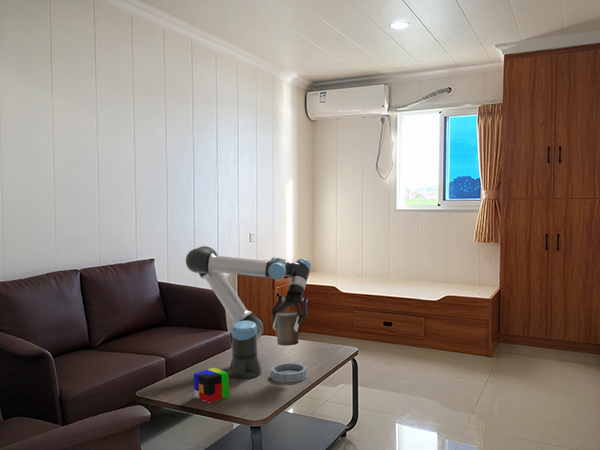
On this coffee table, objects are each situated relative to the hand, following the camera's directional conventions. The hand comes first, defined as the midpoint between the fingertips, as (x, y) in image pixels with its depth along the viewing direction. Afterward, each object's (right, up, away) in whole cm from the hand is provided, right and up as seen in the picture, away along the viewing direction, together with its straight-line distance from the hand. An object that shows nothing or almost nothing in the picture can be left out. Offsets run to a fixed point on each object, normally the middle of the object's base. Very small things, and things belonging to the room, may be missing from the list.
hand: (284, 329), depth 227 cm
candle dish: (+2, -23, +5) cm, 23 cm away
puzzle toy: (-29, -25, -17) cm, 42 cm away
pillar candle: (+1, -7, +3) cm, 8 cm away
